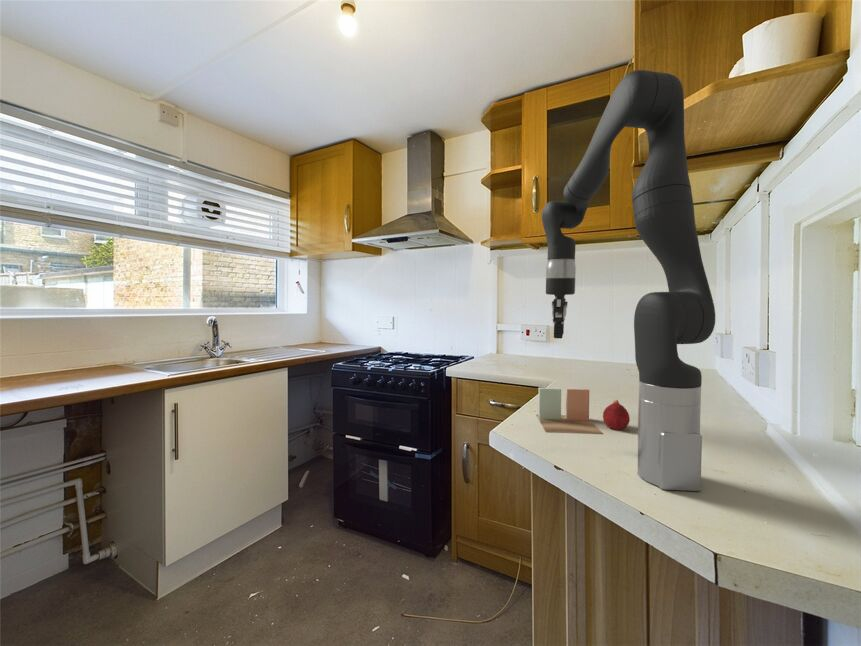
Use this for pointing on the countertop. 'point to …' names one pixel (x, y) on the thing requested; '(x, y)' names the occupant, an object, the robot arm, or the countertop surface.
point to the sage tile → (549, 403)
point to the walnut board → (569, 426)
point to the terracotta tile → (577, 403)
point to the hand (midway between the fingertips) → (558, 336)
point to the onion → (616, 416)
